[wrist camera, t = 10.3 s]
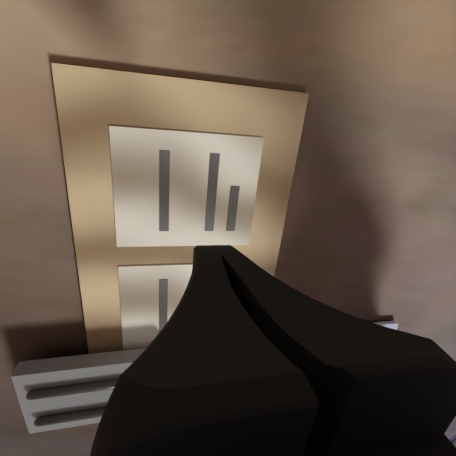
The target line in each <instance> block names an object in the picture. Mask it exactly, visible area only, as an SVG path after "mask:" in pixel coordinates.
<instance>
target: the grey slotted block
mask: <svg viewBox="0 0 456 456" xmlns="http://www.w3.org/2000/svg"><path fill="white" fill-rule="evenodd" d="M145 349H146V348H141V349H131V350H122V351H113V352H103V353H94V354H85V355H76V356H66V357H57V358H48V359H39V360H29V361H20V362H18V364H17V366H16V368H15V370H14V372H13V374H12V376H11V378H12V381H13V384H14V387H15V391H16V394H17V397H18V400H19V403H20V406H21V409H22V412H23V415H24V419H25V422H26V425H27V428H28V431H29V434H30V433H37V432H43V431H49V430H56V429H62V428H68V427H75V426H81V425H87V424H94V423H100V420H101V417H102V415H103V412H104V410H105V407H106V405H107V403H108V400H109V398H110V396H111V393H112V391H113V389H114V387H115V385H116V382H117V380H118V378H119V376H120V375H121V374H122V373H123V372H124V371H125V370H126V369H127V368H128V367H129V366H130V365H131V364H132V363H133V362H134V361H135V360H136V359H137V358H138V357H139V356H140V355H141V354H142V353H143V352H144V351H145Z"/></svg>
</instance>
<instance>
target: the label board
mask: <svg viewBox="0 0 456 456" xmlns="http://www.w3.org/2000/svg"><path fill="white" fill-rule="evenodd" d="M51 65H52V73H53V81H54V89H55V96H56V104H57V112H58V119H59V127H60V135H61V143H62V150H63V158H64V166H65V173H66V181H67V189H68V197H69V204H70V212H71V220H72V228H73V235H74V243H75V251H76V258H77V266H78V274H79V282H80V289H81V297H82V305H83V313H84V320H85V328H86V336H87V343H88V351H89V354H94V353H103V352H113V351H122V350H131V349H141V348H147V347H148V346H149V345H150V344H151V342H152V341H153V340H154V339H155V337H156V336H157V335H158V334H159V332H160V331H161V330H162V329H163V327H164V326H165V325H166V323H167V322H168V320H169V319H170V317H171V315H172V314H173V312H174V311H175V309H176V307H177V306H178V304H179V302H180V300H181V298H182V296H183V294H184V292H185V290H186V287H187V285H188V282H189V280H190V277H191V274H192V268H193V250H194V248H195V247H196V246H197V245H231V246H233V247H234V248H235V249H237V250H238V251H239V252H241V253H242V254H243V255H245V256H246V257H247V258H249V259H250V260H251V261H253V262H254V263H255V264H257V265H258V266H259V267H261V268H262V269H264V270H265V271H266V272H268V273H269V274H271V275H272V276H274V275H275V270H276V265H277V260H278V254H279V249H280V244H281V239H282V233H283V228H284V223H285V218H286V212H287V207H288V202H289V197H290V191H291V186H292V181H293V176H294V170H295V165H296V160H297V155H298V149H299V144H300V139H301V134H302V128H303V123H304V118H305V113H306V107H307V102H308V97H309V93H302V92H293V91H285V90H276V89H268V88H260V87H251V86H243V85H234V84H226V83H217V82H209V81H201V80H192V79H184V78H175V77H167V76H159V75H150V74H142V73H133V72H125V71H117V70H108V69H100V68H91V67H83V66H75V65H66V64H58V63H51Z"/></svg>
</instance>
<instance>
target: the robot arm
mask: <svg viewBox="0 0 456 456" xmlns="http://www.w3.org/2000/svg"><path fill="white" fill-rule="evenodd" d="M397 327H398V324H397V323H396V322H395V321H384V322H373V323H372V322H369V321H366V320H363V319H360V318H357V317H355V316H352V315H349V314H347V313H344V312H341V311H339V310H337V309H334V308H332V307H330V306H327V305H325V304H323V303H321V302H318V301H316V300H314V299H312V298H310V297H308V296H306V295H304V294H303V293H301V292H299V291H297V290H295V289H293V288H291V287H290V286H288V285H286V284H285V283H283V282H282V281H280V280H278V279H277V278H275V277H274V276H272V275H271V274H269V273H268V272H266V271H265V270H264V269H262V268H261V267H259V266H258V265H257V264H255V263H254V262H253V261H251V260H250V259H249V258H247V257H246V256H245V255H243V254H242V253H241V252H239V251H238V250H237V249H235V248H234V247H233V246H231V245H197V246H196V247H195V248H194V250H193V268H192V274H191V277H190V280H189V282H188V285H187V287H186V290H185V292H184V294H183V296H182V298H181V300H180V302H179V304H178V306H177V307H176V309H175V311H174V312H173V314H172V315H171V317H170V319H169V320H168V322H167V323H166V325H165V326H164V327H163V329H162V330H161V331H160V332H159V334H158V335H157V336H156V337H155V339H154V340H153V341H152V342H151V344H150V345H149V346H148V347H147V348H146V349H145V351H144V352H143V353H142V354H141V355H140V356H139V357H138V358H137V359H136V360H135V361H134V362H133V363H132V364H131V365H130V366H129V367H128V368H127V369H126V370H125V371H124V372H123V373H122V374H121V375H120V376H119V378H118V380H117V382H116V385H115V387H114V389H113V391H112V393H111V396H110V398H109V400H108V403H107V405H106V407H105V410H104V412H103V415H102V417H101V420H100V423H99V426H98V429H97V432H96V435H95V439H94V442H93V446H92V450H91V455H90V456H456V362H455V361H454V360H453V359H452V358H451V357H450V356H449V355H448V354H447V353H446V352H445V351H444V350H442V349H441V348H440V347H439V346H438V345H437V344H436V343H435V342H434V341H433V340H431V339H428V338H425V337H421V336H417V335H413V334H410V333H406V332H402V331H399V330H397Z"/></svg>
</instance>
